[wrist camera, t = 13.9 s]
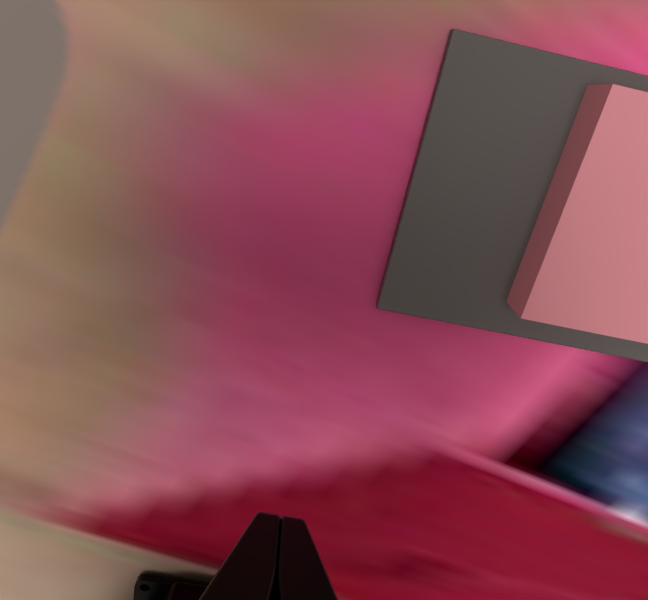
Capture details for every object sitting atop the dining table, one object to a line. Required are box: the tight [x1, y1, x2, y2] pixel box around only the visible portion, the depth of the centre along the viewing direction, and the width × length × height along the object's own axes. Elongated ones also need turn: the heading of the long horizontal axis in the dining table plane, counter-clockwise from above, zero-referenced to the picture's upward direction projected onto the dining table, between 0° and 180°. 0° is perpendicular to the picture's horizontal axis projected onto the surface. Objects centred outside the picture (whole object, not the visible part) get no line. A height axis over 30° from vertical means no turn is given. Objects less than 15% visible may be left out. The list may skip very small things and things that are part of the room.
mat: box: [376, 29, 648, 362], centre depth 19 cm, size 10×12×1 cm
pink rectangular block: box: [506, 84, 648, 344], centre depth 18 cm, size 8×2×7 cm
